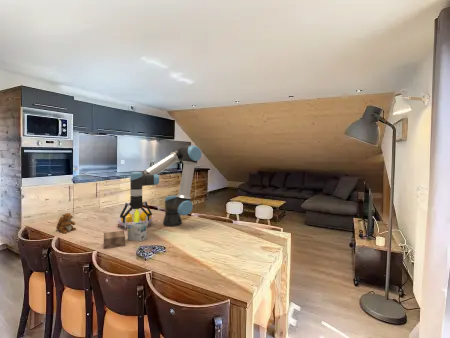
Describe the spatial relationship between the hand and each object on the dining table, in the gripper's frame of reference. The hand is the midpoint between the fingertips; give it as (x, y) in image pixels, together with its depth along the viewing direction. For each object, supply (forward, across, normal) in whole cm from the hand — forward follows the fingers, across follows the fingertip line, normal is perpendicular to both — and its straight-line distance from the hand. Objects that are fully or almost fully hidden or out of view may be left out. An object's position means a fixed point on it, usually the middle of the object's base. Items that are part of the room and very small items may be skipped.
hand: (136, 226), depth 163 cm
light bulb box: (+9, -1, 0) cm, 9 cm away
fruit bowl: (+9, -4, -33) cm, 35 cm away
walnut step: (+9, +13, +3) cm, 16 cm away
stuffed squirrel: (+10, +46, -39) cm, 61 cm away
